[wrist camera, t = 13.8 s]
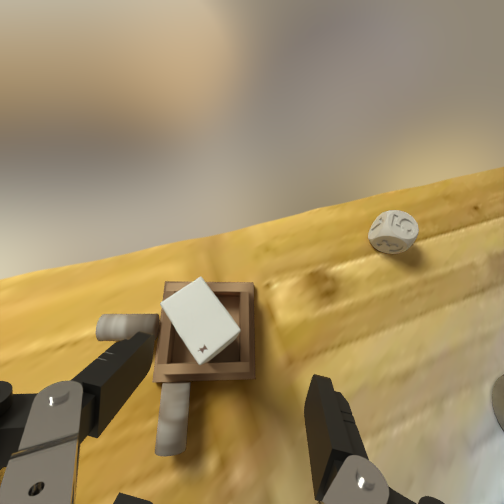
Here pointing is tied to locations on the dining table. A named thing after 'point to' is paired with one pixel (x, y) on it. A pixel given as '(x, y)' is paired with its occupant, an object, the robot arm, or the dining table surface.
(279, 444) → the dining table surface
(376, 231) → the die
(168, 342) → the block
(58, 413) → the robot arm
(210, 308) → the skincare box
